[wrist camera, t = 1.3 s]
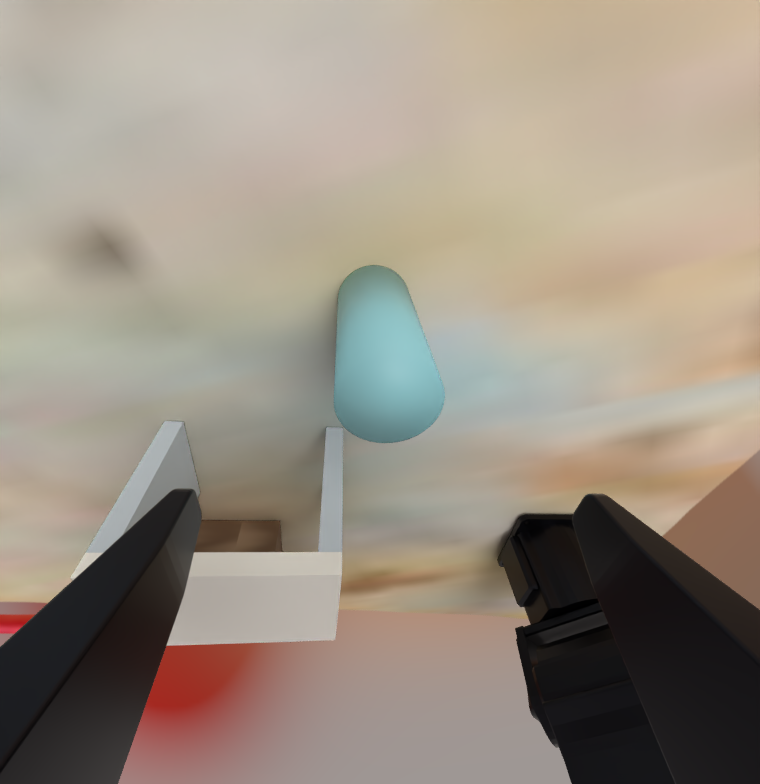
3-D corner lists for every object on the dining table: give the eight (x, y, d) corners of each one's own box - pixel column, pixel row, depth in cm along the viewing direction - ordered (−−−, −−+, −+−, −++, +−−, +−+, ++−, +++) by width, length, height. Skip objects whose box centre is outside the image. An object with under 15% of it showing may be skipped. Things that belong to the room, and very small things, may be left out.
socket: (280, 520, 27) (272, 567, 24) (284, 592, 33) (278, 636, 30) (130, 519, 26) (104, 568, 23) (162, 593, 32) (144, 640, 29)
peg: (414, 268, 17) (455, 357, 11) (403, 335, 19) (433, 444, 13) (339, 262, 17) (336, 350, 10) (336, 330, 19) (331, 441, 12)
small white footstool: (343, 427, 23) (341, 574, 15) (338, 494, 26) (335, 640, 19) (164, 421, 21) (70, 577, 14) (184, 491, 25) (116, 647, 17)
